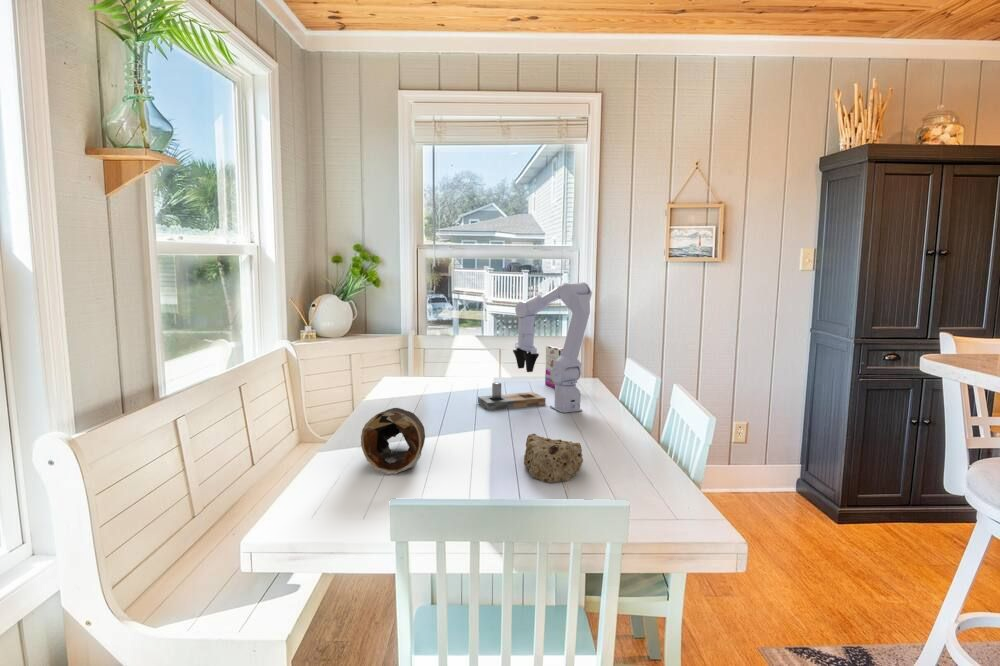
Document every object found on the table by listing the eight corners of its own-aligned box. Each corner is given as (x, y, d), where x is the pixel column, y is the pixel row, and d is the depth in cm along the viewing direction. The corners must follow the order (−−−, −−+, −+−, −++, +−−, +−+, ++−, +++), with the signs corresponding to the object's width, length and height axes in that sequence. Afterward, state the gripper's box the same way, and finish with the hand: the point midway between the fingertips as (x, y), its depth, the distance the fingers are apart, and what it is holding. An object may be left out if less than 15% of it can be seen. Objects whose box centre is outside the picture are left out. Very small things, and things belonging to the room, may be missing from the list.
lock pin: (502, 406, 210) (502, 384, 209) (494, 407, 209) (494, 384, 208) (498, 404, 213) (499, 382, 212) (490, 404, 212) (490, 382, 211)
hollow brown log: (427, 400, 168) (418, 406, 143) (434, 455, 167) (426, 470, 142) (374, 407, 168) (356, 414, 143) (381, 462, 167) (364, 478, 142)
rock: (516, 459, 158) (525, 423, 158) (568, 471, 159) (577, 435, 159) (524, 480, 138) (535, 438, 138) (584, 494, 139) (595, 452, 139)
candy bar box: (569, 389, 239) (570, 348, 237) (558, 390, 237) (559, 349, 235) (555, 383, 249) (556, 344, 247) (544, 384, 247) (545, 345, 245)
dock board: (545, 404, 213) (545, 398, 213) (488, 410, 204) (488, 403, 204) (533, 398, 222) (533, 392, 222) (477, 403, 214) (477, 396, 213)
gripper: (508, 332, 226) (507, 367, 228) (524, 336, 213) (523, 374, 215) (525, 331, 229) (524, 366, 231) (542, 336, 216) (541, 373, 217)
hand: (525, 370), depth 223 cm, fingers open, 7 cm apart
